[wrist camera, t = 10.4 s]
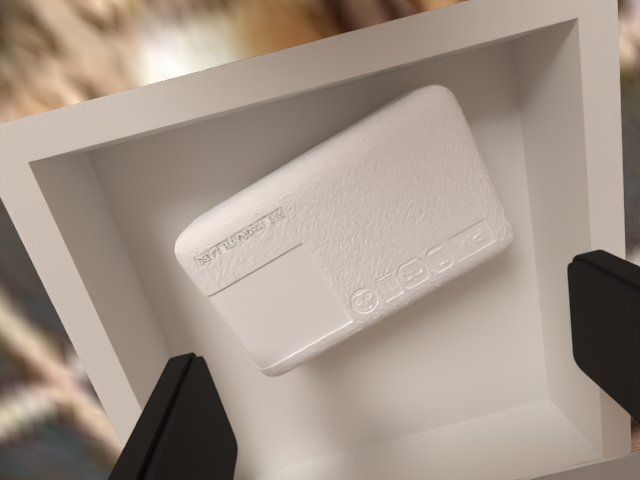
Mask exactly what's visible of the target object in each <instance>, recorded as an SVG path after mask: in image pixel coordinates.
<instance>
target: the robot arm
mask: <svg viewBox="0 0 640 480" xmlns="http://www.w3.org/2000/svg"><path fill="white" fill-rule="evenodd" d="M567 276H568V291H569V306H570V320H571V335H572V350H573V357H574V360H575V362H576V364H577V366H578V367H579V368H580V369H581V371H583V372H584V373H585V374H586V375H587V376H588V377H589V378H590V379H591V380H592V381H594V382H595V383H596V384H597V385H598V386H599V387H600V388H601V389H602V390H603V391H605V392H606V393H607V394H608V395H609V396H610V397H611V398H612V399H613V400H614V401H616V402H617V403H618V404H619V405H620V406H621V407H622V408H623V409H624V410H625V411H627V412H628V413H629V414H630V415H631V416H632V417H633V418H634V419H635V420H636V421H638V422H639V423H640V267H639V266H637V265H635V264H633V263H631V262H628V261H626V260H624V259H622V258H620V257H617V256H615V255H613V254H611V253H609V252H606V251H604V250H601V249H599V250H595V251H591V252H587V253H583V254H579V255H575V256H574V257H573V260H572V262H571V263H569V264H568V266H567ZM237 454H238V446H237V440H236V437H235V435H234V432H233V429H232V427H231V424H230V422H229V419H228V417H227V414H226V412H225V409H224V406H223V404H222V401H221V399H220V396H219V394H218V391H217V389H216V386H215V384H214V381H213V378H212V376H211V373H210V371H209V368H208V366H207V363H206V361H205V359H204V357H203V356H199V357H197V355H196V354H195V353H193V352H191V353H187V354H183V355H179V356H175V357H171V358H170V359H169V360H168V362H167V364H166V366H165V368H164V370H163V372H162V374H161V376H160V378H159V380H158V382H157V384H156V386H155V388H154V389H153V391H152V393H151V395H150V397H149V399H148V401H147V403H146V405H145V407H144V409H143V411H142V413H141V415H140V417H139V419H138V421H137V423H136V425H135V427H134V429H133V431H132V433H131V435H130V437H129V439H128V441H127V443H126V445H125V447H124V449H123V451H122V453H121V455H120V457H119V459H118V461H117V463H116V465H115V466H114V468H113V470H112V472H111V474H110V476H109V478H108V480H233V479H234V473H235V467H236V461H237ZM516 480H640V450H637V451H633V452H629V453H625V454H621V455H616V456H612V457H608V458H604V459H599V460H595V461H591V462H587V463H582V464H578V465H574V466H570V467H565V468H561V469H557V470H553V471H549V472H545V473H540V474H536V475H532V476H528V477H524V478H520V479H516Z"/></svg>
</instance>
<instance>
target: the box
mask: <svg viewBox="0 0 640 480" xmlns="http://www.w3.org/2000/svg"><path fill="white" fill-rule="evenodd" d="M428 85H440V86H443V87H446V88H448V89H449V90H450V91H451V92H452V93H453V94H454V96H455V98H456V99H457V101H458V104H459V106H460V107H461V110H462V113H463V115H464V117H465V119H466V121H467V124H468V126H469V127H470V131H471V133H472V135H473V137H474V139H475V141H476V144H477V145H478V148H479V150H480V152H481V154H482V156H483V159H484V162H485V164H486V166H487V168H488V170H489V173H490V175H491V177H492V179H493V182H494V184H495V186H496V188H497V191H498V193H499V195H500V198H501V200H502V202H503V204H504V206H505V208H506V211H507V212H508V214H509V217H510V219H511V222H512V225H513V227H514V232H515V239H514V242H513V244H512V245H511V246H510V248H509V249H507V250H506V251H504V252H503V253H502V254H500V255H498V256H496V257H495V258H493V259H491V260H489V261H487V262H486V263H484V264H482V265H480V266H478V267H477V268H475V269H473V270H471V271H469V272H468V273H466V274H464V275H462V276H460V277H458V278H457V279H455V280H453V281H451V282H450V283H448V284H446V285H444V286H442V287H440V288H439V289H437V290H435V291H433V292H432V293H430V294H428V295H426V296H424V297H423V298H420V299H419V300H418V301H416V302H414V303H412V304H410V305H409V306H407V307H404V308H403V309H401V310H399V311H398V312H396V313H394V314H392V315H390V316H389V317H387V318H385V319H384V320H382V321H380V322H378V323H376V324H374V325H372V326H371V327H369V328H367V329H366V330H363V331H361V332H359V333H358V334H356V335H355V336H353V337H350V338H349V339H347V340H345V341H343V342H342V343H340V344H339V345H336V346H335V347H333V348H331V349H329V350H327V351H325V352H324V353H322V354H320V355H318V356H317V357H315V358H313V359H311V360H309V361H308V362H306V363H304V364H302V365H300V366H298V367H296V368H295V369H293V370H291V371H289V372H287V373H285V374H284V375H281V376H278V377H268V376H266V375H264V374H263V373H261V372H260V371H259V369H258V368H257V366H256V363H255V362H254V361H253V359H252V358H251V357H250V355H249V354H248V352H247V351H246V350H245V348H244V347H243V346H242V344H241V343H240V342H239V340H238V339H237V338H236V336H235V335H234V334H233V332H232V331H231V329H230V328H229V327H228V325H227V324H226V323H225V321H224V320H223V319H222V317H221V316H220V315H219V313H218V312H217V311H216V309H215V308H214V307H213V305H212V304H211V302H210V301H209V300H208V298H207V297H206V296H203V294H202V293H201V292H200V290H199V289H198V288H197V287H196V285H195V284H194V283H193V281H192V280H191V279H190V277H189V276H188V274H187V273H186V272H185V270H184V269H183V268H182V266H181V265H180V264H179V262H178V260H177V258H176V254H175V251H174V250H175V243H176V241H177V239H178V237H179V235H180V234H181V233H182V232H183V231H184V230H185V229H186V228H187V227H188V226H189V225H190V224H191V223H192V222H193V221H194V220H195V219H196V218H197V217H199V216H200V215H202V214H204V213H205V212H207V211H209V210H210V209H212V208H214V207H215V206H217V205H218V204H220V203H222V202H224V201H225V200H227V199H229V198H230V197H232V196H233V195H235V194H237V193H238V192H240V191H241V190H243V189H245V188H247V187H248V186H250V185H252V184H253V183H255V182H257V181H258V180H260V179H262V178H263V177H265V176H266V175H268V174H270V173H272V172H273V171H275V170H276V169H278V168H280V167H281V166H283V165H285V164H287V163H288V162H290V161H291V160H293V159H295V158H296V157H298V156H300V155H301V154H303V153H305V152H306V151H308V150H310V149H312V148H313V147H315V146H317V145H318V144H320V143H321V142H323V141H325V140H326V139H328V138H330V137H331V136H333V135H335V134H336V133H338V132H340V131H342V130H343V129H345V128H346V127H348V126H350V125H351V124H353V123H355V122H356V121H358V120H360V119H361V118H363V117H365V116H366V115H368V114H370V113H371V112H373V111H375V110H376V109H378V108H380V107H381V106H383V105H384V104H386V103H388V102H389V101H391V100H393V99H394V98H396V97H398V96H400V95H401V94H403V93H405V92H407V91H409V90H412V89H416V88H420V87H424V86H428ZM0 197H1V199H2V201H3V203H4V205H5V207H6V209H7V211H8V213H9V215H10V217H11V219H12V221H13V223H14V225H15V227H16V230H17V232H18V234H19V236H20V238H21V240H22V242H23V244H24V246H25V248H26V250H27V252H28V254H29V256H30V258H31V260H32V262H33V264H34V266H35V268H36V270H37V272H38V274H39V276H40V278H41V281H42V283H43V285H44V287H45V289H46V291H47V293H48V295H49V297H50V299H51V301H52V303H53V305H54V307H55V309H56V311H57V313H58V315H59V317H60V319H61V321H62V323H63V325H64V327H65V329H66V332H67V334H68V336H69V338H70V340H71V342H72V344H73V346H74V348H75V350H76V352H77V354H78V356H79V358H80V360H81V362H82V364H83V366H84V368H85V370H86V372H87V374H88V376H89V378H90V380H91V383H92V385H93V387H94V389H95V391H96V393H97V395H98V397H99V399H100V401H101V403H102V405H103V407H104V409H105V411H106V413H107V415H108V417H109V419H110V421H111V423H112V425H113V427H114V429H115V431H116V434H117V436H118V438H119V440H120V442H121V444H122V446H123V448H124V447H125V445H126V443H127V441H128V439H129V437H130V435H131V433H132V431H133V429H134V427H135V425H136V423H137V421H138V419H139V417H140V415H141V413H142V411H143V409H144V407H145V405H146V403H147V401H148V399H149V397H150V395H151V393H152V391H153V389H154V388H155V386H156V384H157V382H158V380H159V378H160V376H161V374H162V372H163V370H164V368H165V366H166V364H167V362H168V360H169V359H170V358H171V357H175V356H179V355H183V354H187V353H191V352H193V353H195V354H196V355H197V357H199V356H203V357H204V359H205V361H206V363H207V366H208V368H209V371H210V373H211V376H212V378H213V381H214V384H215V386H216V389H217V391H218V394H219V396H220V399H221V401H222V404H223V406H224V409H225V412H226V414H227V417H228V419H229V422H230V424H231V427H232V429H233V432H234V435H235V437H236V440H237V446H238V454H237V461H236V467H235V473H234V479H233V480H516V479H520V478H524V477H528V476H532V475H536V474H540V473H545V472H549V471H553V470H557V469H561V468H565V467H570V466H574V465H578V464H582V463H587V462H591V461H595V460H599V459H604V458H608V457H612V456H616V455H621V454H625V453H629V452H632V450H631V418H630V414H629V413H628V412H627V411H625V410H624V409H623V408H622V407H621V406H620V405H619V404H618V403H617V402H616V401H614V400H613V399H612V398H611V397H610V396H609V395H608V394H607V393H606V392H605V391H603V390H602V389H601V388H600V387H599V386H598V385H597V384H596V383H595V382H594V381H592V380H591V379H590V378H589V377H588V376H587V375H586V374H585V373H584V372H583V371H581V369H580V368H579V367H578V366H577V364H576V362H575V360H574V357H573V350H572V335H571V320H570V306H569V291H568V276H567V266H568V264H569V263H571V262H572V260H573V257H574V256H575V255H579V254H583V253H587V252H591V251H595V250H599V249H601V250H604V251H606V252H609V253H611V254H613V255H615V256H617V257H620V258H622V259H624V260H626V259H625V227H624V196H623V164H622V132H621V100H620V69H619V37H618V5H617V0H468V1H465V2H461V3H457V4H453V5H449V6H446V7H442V8H438V9H434V10H430V11H427V12H423V13H419V14H415V15H411V16H408V17H404V18H400V19H396V20H392V21H389V22H385V23H381V24H377V25H373V26H370V27H366V28H362V29H358V30H354V31H351V32H347V33H343V34H339V35H335V36H332V37H328V38H324V39H320V40H316V41H313V42H309V43H305V44H301V45H297V46H294V47H290V48H286V49H282V50H279V51H275V52H271V53H267V54H263V55H260V56H256V57H252V58H248V59H244V60H241V61H237V62H233V63H229V64H225V65H222V66H218V67H214V68H210V69H206V70H203V71H199V72H195V73H191V74H187V75H184V76H180V77H176V78H172V79H168V80H165V81H161V82H157V83H153V84H149V85H146V86H142V87H138V88H134V89H130V90H127V91H123V92H119V93H115V94H111V95H108V96H104V97H100V98H96V99H93V100H89V101H85V102H81V103H77V104H74V105H70V106H66V107H62V108H58V109H55V110H51V111H47V112H43V113H39V114H36V115H32V116H28V117H24V118H20V119H17V120H13V121H9V122H5V123H1V124H0Z"/></svg>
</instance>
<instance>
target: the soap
mask: <svg viewBox="0 0 640 480" xmlns="http://www.w3.org/2000/svg"><path fill="white" fill-rule="evenodd" d="M514 239H515V232H514V227H513V225H512V222H511V219H510V217H509V214H508V212H507V211H506V208H505V206H504V204H503V202H502V200H501V198H500V195H499V193H498V191H497V188H496V186H495V184H494V182H493V179H492V177H491V175H490V173H489V170H488V168H487V166H486V164H485V162H484V159H483V156H482V154H481V152H480V150H479V148H478V145H477V144H476V141H475V139H474V137H473V135H472V133H471V131H470V127H469V126H468V124H467V121H466V119H465V117H464V115H463V113H462V110H461V107H460V106H459V104H458V101H457V99H456V98H455V96H454V94H453V93H452V92H451V91H450V90H449V89H448V88H446V87H443V86H440V85H428V86H424V87H420V88H416V89H412V90H409V91H407V92H405V93H403V94H401V95H400V96H398V97H396V98H394V99H393V100H391V101H389V102H388V103H386V104H384V105H383V106H381V107H380V108H378V109H376V110H375V111H373V112H371V113H370V114H368V115H366V116H365V117H363V118H361V119H360V120H358V121H356V122H355V123H353V124H351V125H350V126H348V127H346V128H345V129H343V130H342V131H340V132H338V133H336V134H335V135H333V136H331V137H330V138H328V139H326V140H325V141H323V142H321V143H320V144H318V145H317V146H315V147H313V148H312V149H310V150H308V151H306V152H305V153H303V154H301V155H300V156H298V157H296V158H295V159H293V160H291V161H290V162H288V163H287V164H285V165H283V166H281V167H280V168H278V169H276V170H275V171H273V172H272V173H270V174H268V175H266V176H265V177H263V178H262V179H260V180H258V181H257V182H255V183H253V184H252V185H250V186H248V187H247V188H245V189H243V190H241V191H240V192H238V193H237V194H235V195H233V196H232V197H230V198H229V199H227V200H225V201H224V202H222V203H220V204H218V205H217V206H215V207H214V208H212V209H210V210H209V211H207V212H205V213H204V214H202V215H200V216H199V217H197V218H196V219H195V220H194V221H193V222H192V223H191V224H190V225H189V226H188V227H187V228H186V229H185V230H184V231H183V232H182V233H181V234H180V235H179V237H178V239H177V241H176V243H175V250H174V251H175V254H176V258H177V260H178V262H179V264H180V265H181V266H182V268H183V269H184V270H185V272H186V273H187V274H188V276H189V277H190V279H191V280H192V281H193V283H194V284H195V285H196V287H197V288H198V289H199V290H200V292H201V293H202V294H203V296H206V297H207V298H208V300H209V301H210V302H211V304H212V305H213V307H214V308H215V309H216V311H217V312H218V313H219V315H220V316H221V317H222V319H223V320H224V321H225V323H226V324H227V325H228V327H229V328H230V329H231V331H232V332H233V334H234V335H235V336H236V338H237V339H238V340H239V342H240V343H241V344H242V346H243V347H244V348H245V350H246V351H247V352H248V354H249V355H250V357H251V358H252V359H253V361H254V362H255V363H256V366H257V368H258V369H259V371H260V372H261V373H263V374H264V375H266V376H268V377H278V376H281V375H284V374H285V373H287V372H289V371H291V370H293V369H295V368H296V367H298V366H300V365H302V364H304V363H306V362H308V361H309V360H311V359H313V358H315V357H317V356H318V355H320V354H322V353H324V352H325V351H327V350H329V349H331V348H333V347H335V346H336V345H339V344H340V343H342V342H343V341H345V340H347V339H349V338H350V337H353V336H355V335H356V334H358V333H359V332H361V331H363V330H366V329H367V328H369V327H371V326H372V325H374V324H376V323H378V322H380V321H382V320H384V319H385V318H387V317H389V316H390V315H392V314H394V313H396V312H398V311H399V310H401V309H403V308H404V307H407V306H409V305H410V304H412V303H414V302H416V301H418V300H419V299H420V298H423V297H424V296H426V295H428V294H430V293H432V292H433V291H435V290H437V289H439V288H440V287H442V286H444V285H446V284H448V283H450V282H451V281H453V280H455V279H457V278H458V277H460V276H462V275H464V274H466V273H468V272H469V271H471V270H473V269H475V268H477V267H478V266H480V265H482V264H484V263H486V262H487V261H489V260H491V259H493V258H495V257H496V256H498V255H500V254H502V253H503V252H504V251H506V250H507V249H509V248H510V246H511V245H512V244H513V242H514Z"/></svg>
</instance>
